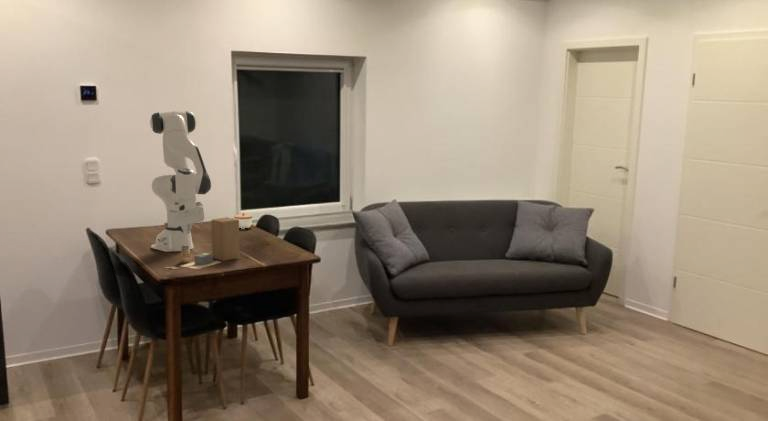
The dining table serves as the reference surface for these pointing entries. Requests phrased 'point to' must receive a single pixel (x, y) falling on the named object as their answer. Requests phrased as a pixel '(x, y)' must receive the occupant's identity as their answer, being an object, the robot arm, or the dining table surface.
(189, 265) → the plywood panel
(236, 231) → the wooden block
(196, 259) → the grey rectangular block
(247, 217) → the lidded jar
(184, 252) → the peg
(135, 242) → the dining table surface
